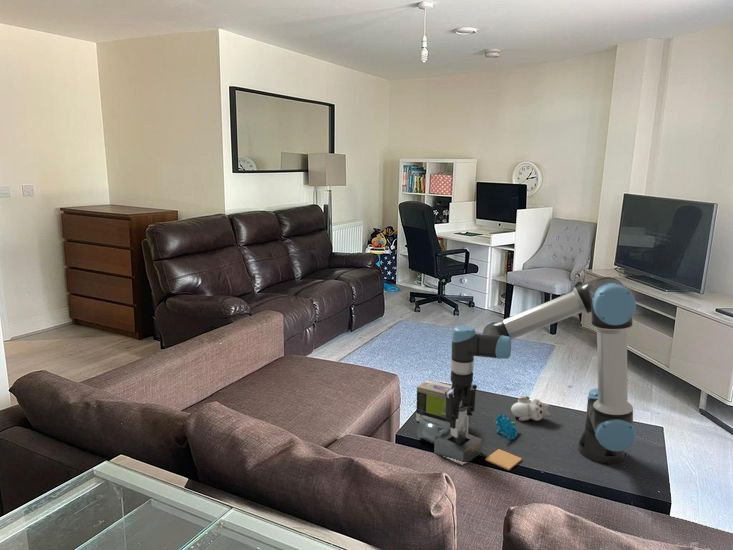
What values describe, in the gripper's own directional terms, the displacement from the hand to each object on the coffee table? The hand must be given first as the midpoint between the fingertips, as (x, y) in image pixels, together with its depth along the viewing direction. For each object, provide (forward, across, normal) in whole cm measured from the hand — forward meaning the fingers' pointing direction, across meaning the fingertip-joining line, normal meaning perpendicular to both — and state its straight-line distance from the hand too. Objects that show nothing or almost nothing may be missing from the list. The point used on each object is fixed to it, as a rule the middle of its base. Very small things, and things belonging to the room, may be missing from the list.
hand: (459, 433), depth 185 cm
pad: (+7, -9, +12) cm, 17 cm away
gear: (+8, -24, +2) cm, 25 cm away
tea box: (+8, -10, -21) cm, 25 cm away
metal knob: (+3, 0, 0) cm, 3 cm away
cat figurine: (+8, -42, -2) cm, 43 cm away
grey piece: (+7, +1, -5) cm, 9 cm away
